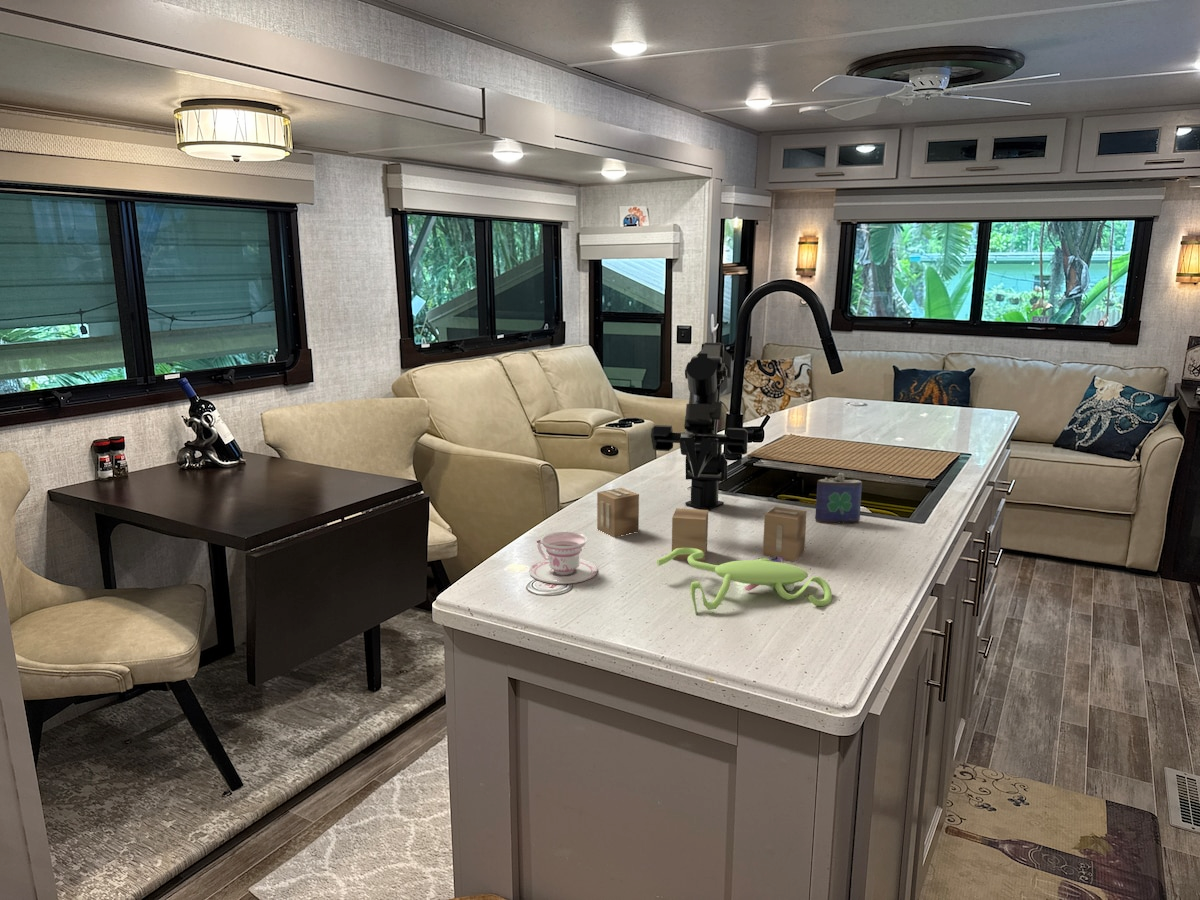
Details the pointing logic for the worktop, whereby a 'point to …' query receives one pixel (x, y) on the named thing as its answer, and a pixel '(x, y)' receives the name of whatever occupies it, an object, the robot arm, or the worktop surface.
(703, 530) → the plain block
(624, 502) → the striped block
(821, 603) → the figurine
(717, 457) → the robot arm
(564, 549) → the teacup
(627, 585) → the worktop surface
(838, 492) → the flask
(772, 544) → the striped block
